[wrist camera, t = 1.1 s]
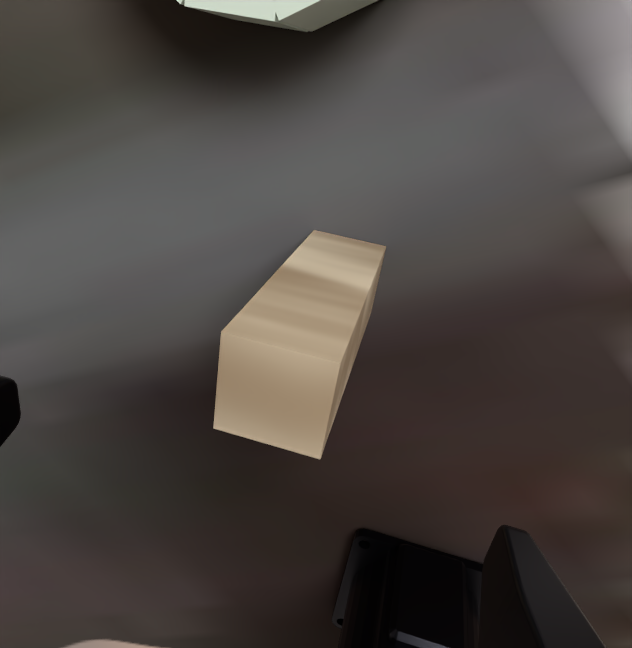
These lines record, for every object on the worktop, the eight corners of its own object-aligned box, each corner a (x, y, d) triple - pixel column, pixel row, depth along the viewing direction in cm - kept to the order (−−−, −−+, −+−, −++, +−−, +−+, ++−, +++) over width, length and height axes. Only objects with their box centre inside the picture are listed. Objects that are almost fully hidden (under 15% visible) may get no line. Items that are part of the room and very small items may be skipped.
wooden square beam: (370, 312, 18) (320, 459, 11) (303, 296, 19) (213, 428, 12) (386, 246, 17) (340, 363, 10) (313, 230, 17) (221, 331, 10)
